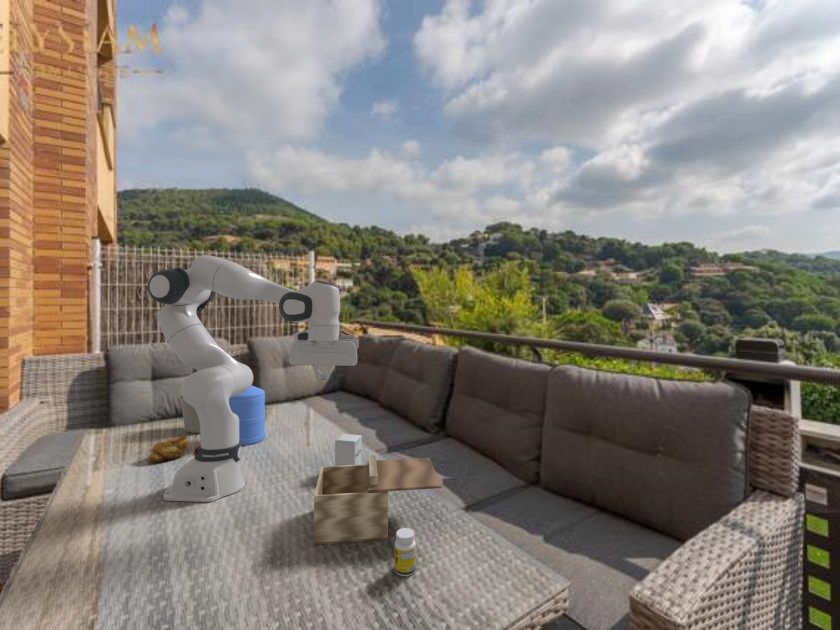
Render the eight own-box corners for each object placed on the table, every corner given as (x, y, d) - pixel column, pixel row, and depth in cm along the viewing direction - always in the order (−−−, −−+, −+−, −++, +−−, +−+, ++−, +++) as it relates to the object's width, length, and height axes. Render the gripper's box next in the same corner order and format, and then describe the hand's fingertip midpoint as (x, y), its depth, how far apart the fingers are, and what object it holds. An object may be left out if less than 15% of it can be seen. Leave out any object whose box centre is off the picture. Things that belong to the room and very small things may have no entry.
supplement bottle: (394, 563, 90) (394, 527, 90) (414, 562, 90) (415, 526, 90) (394, 578, 85) (394, 539, 85) (416, 577, 86) (416, 538, 85)
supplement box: (354, 478, 134) (354, 441, 133) (334, 476, 135) (334, 440, 135) (362, 469, 141) (362, 434, 141) (342, 468, 142) (342, 433, 142)
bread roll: (152, 467, 142) (152, 445, 142) (142, 460, 148) (142, 439, 148) (190, 456, 152) (190, 436, 152) (180, 450, 158) (180, 430, 158)
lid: (367, 492, 98) (367, 480, 98) (366, 462, 116) (366, 452, 116) (441, 488, 101) (441, 476, 100) (429, 459, 119) (429, 449, 119)
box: (313, 545, 96) (314, 496, 96) (321, 507, 114) (321, 466, 114) (387, 539, 99) (388, 491, 99) (383, 503, 117) (384, 463, 117)
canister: (197, 423, 195) (197, 380, 194) (231, 425, 192) (231, 381, 192) (169, 435, 177) (169, 388, 176) (206, 437, 174) (206, 389, 174)
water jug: (272, 438, 173) (272, 374, 173) (239, 449, 160) (239, 380, 160) (250, 432, 182) (250, 371, 181) (217, 441, 169) (217, 376, 168)
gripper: (359, 334, 125) (357, 378, 125) (292, 332, 122) (291, 377, 123) (358, 336, 119) (357, 382, 119) (288, 334, 116) (287, 381, 116)
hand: (323, 379), depth 121 cm, fingers closed
